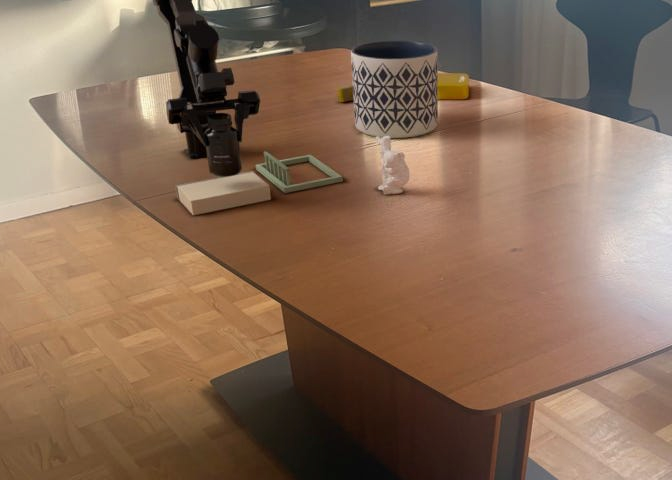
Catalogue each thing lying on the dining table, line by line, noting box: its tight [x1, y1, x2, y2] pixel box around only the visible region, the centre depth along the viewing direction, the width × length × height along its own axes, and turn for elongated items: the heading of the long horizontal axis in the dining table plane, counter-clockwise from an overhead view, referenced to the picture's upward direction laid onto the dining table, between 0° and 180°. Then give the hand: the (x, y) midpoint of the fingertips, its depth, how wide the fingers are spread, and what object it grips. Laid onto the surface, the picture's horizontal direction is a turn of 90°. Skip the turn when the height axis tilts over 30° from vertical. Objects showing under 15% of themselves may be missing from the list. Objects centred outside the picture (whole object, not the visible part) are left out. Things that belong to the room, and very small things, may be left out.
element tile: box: [438, 72, 470, 101], centre depth 254 cm, size 15×15×5 cm
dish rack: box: [255, 150, 344, 194], centre depth 191 cm, size 18×14×5 cm
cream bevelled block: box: [174, 170, 272, 216], centre depth 179 cm, size 11×17×3 cm, turn 122°
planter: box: [350, 39, 439, 139], centre depth 220 cm, size 22×22×20 cm
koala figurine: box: [375, 136, 411, 195], centre depth 181 cm, size 8×7×12 cm
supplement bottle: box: [205, 112, 243, 177], centre depth 173 cm, size 7×7×12 cm
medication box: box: [336, 84, 354, 103], centre depth 248 cm, size 12×3×4 cm, turn 134°
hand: (223, 143), depth 172 cm, fingers closed on supplement bottle, 7 cm apart
